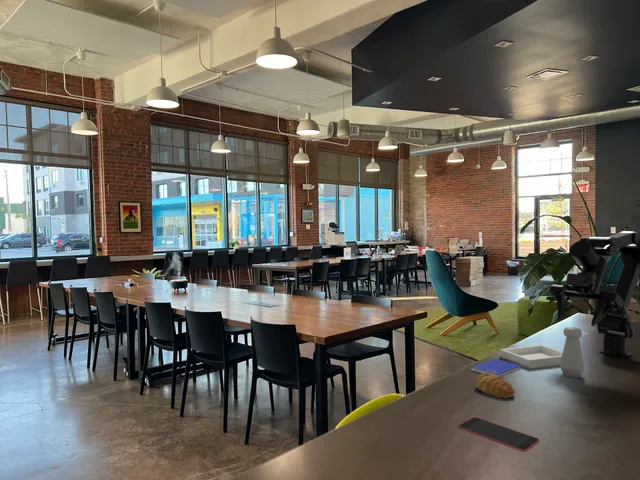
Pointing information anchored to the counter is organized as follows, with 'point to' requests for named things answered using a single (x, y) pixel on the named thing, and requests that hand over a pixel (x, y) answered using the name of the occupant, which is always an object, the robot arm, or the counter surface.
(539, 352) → the tray
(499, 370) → the hard drive
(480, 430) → the smartphone
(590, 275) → the robot arm
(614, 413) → the counter surface
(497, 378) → the pastry
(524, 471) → the counter surface
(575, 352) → the salt shaker
